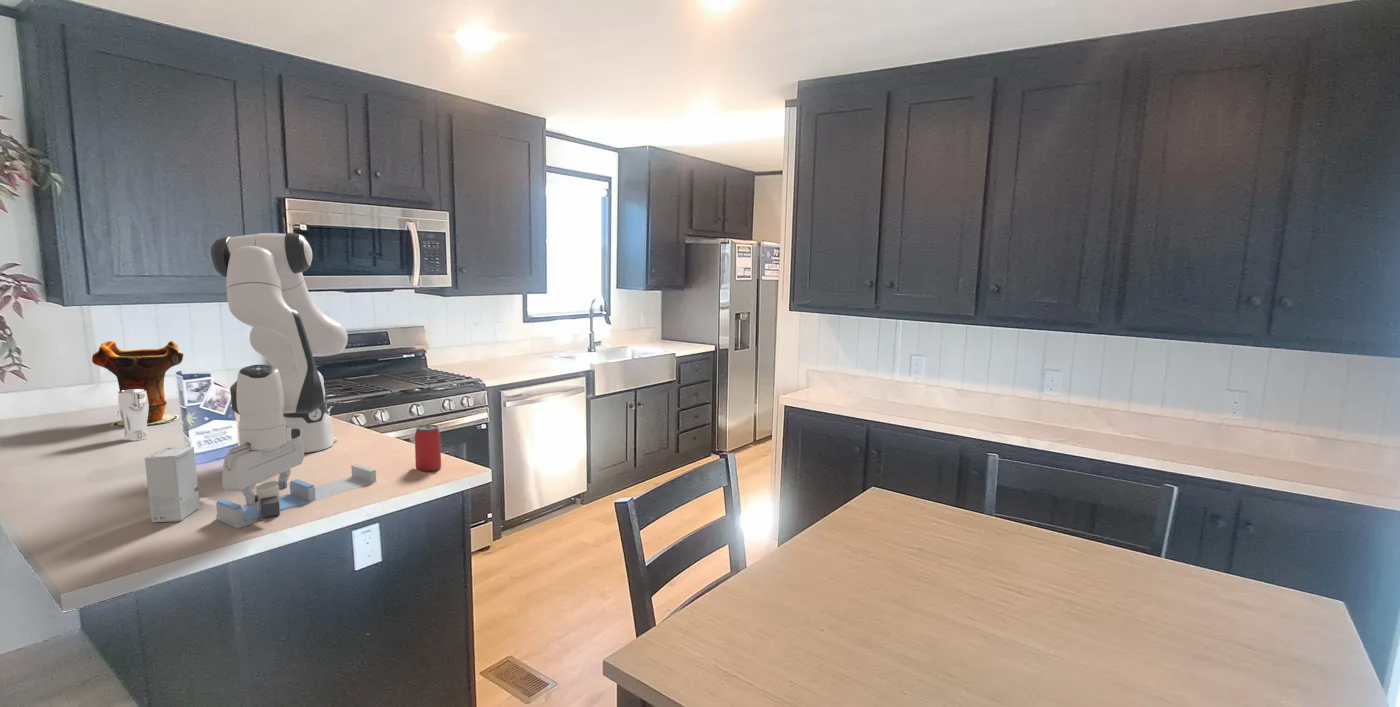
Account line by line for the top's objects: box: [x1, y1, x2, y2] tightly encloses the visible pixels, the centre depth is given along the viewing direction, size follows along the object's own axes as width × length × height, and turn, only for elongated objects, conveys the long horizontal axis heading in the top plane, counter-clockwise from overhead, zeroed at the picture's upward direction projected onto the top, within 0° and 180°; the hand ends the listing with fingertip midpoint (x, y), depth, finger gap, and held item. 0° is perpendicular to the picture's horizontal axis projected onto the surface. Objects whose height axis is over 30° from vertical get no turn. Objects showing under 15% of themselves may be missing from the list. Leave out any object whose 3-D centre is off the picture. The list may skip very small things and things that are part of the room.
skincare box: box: [144, 446, 201, 523], centre depth 143 cm, size 8×6×15 cm
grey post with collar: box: [254, 480, 281, 519], centre depth 147 cm, size 14×4×5 cm, turn 39°
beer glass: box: [117, 389, 151, 442], centre depth 198 cm, size 7×7×15 cm
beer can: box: [414, 424, 442, 473], centre depth 179 cm, size 7×7×12 cm
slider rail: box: [215, 463, 378, 530], centre depth 154 cm, size 9×32×4 cm, turn 150°
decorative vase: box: [91, 340, 184, 429], centre depth 217 cm, size 21×23×28 cm
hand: (267, 495), depth 147 cm, fingers open, 7 cm apart
